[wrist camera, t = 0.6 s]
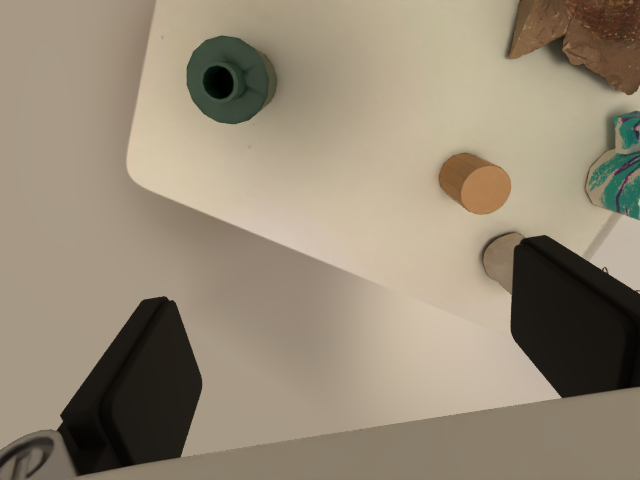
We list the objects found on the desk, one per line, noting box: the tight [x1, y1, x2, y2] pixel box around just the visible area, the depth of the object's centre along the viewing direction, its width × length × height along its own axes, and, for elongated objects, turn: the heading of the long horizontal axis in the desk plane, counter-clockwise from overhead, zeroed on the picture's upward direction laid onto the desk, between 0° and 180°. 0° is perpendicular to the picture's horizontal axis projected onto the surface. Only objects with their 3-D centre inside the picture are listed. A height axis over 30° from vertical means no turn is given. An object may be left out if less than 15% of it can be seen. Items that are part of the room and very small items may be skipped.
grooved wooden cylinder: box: [439, 153, 511, 215], centre depth 45 cm, size 5×5×7 cm
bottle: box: [187, 36, 277, 124], centre depth 35 cm, size 7×7×16 cm
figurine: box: [483, 233, 639, 295], centre depth 43 cm, size 10×10×20 cm
